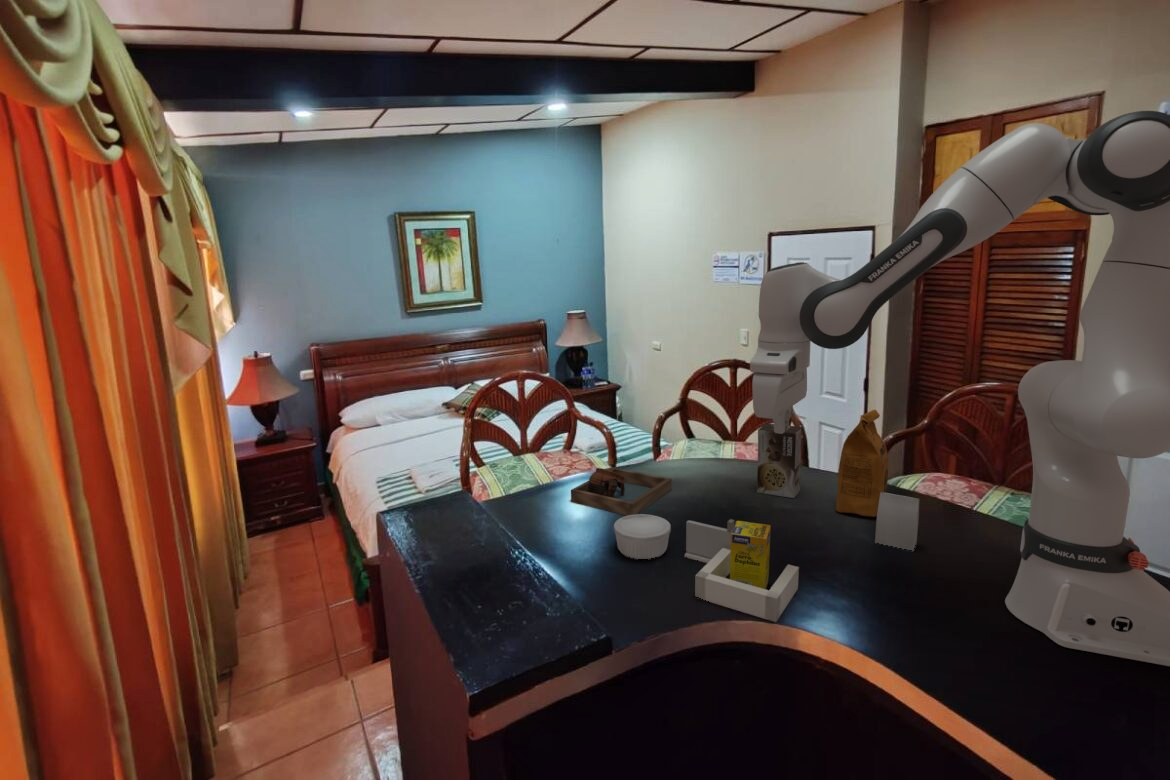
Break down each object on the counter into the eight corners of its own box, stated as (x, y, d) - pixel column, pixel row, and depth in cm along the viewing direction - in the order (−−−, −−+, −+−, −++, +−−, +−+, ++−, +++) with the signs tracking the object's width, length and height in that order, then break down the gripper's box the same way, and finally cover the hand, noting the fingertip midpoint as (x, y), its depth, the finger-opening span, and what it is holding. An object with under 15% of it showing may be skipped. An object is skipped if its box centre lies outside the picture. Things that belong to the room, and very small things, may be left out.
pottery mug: (576, 496, 149) (587, 465, 150) (610, 508, 151) (620, 477, 153) (593, 501, 137) (605, 466, 139) (629, 514, 140) (640, 480, 142)
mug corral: (671, 490, 150) (671, 478, 149) (632, 516, 134) (632, 504, 134) (613, 478, 159) (613, 467, 159) (571, 501, 144) (570, 490, 143)
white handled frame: (802, 581, 105) (803, 560, 104) (776, 622, 94) (777, 598, 93) (690, 552, 117) (690, 532, 116) (654, 584, 106) (654, 563, 105)
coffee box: (800, 490, 147) (803, 426, 144) (794, 499, 142) (797, 433, 139) (763, 484, 152) (765, 422, 149) (755, 492, 147) (757, 428, 143)
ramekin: (656, 533, 126) (656, 510, 125) (680, 557, 115) (681, 531, 114) (606, 542, 123) (605, 518, 122) (626, 567, 112) (626, 541, 111)
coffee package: (893, 505, 137) (900, 411, 132) (876, 523, 128) (884, 422, 123) (847, 495, 143) (853, 405, 139) (829, 512, 134) (834, 416, 130)
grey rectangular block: (913, 551, 115) (917, 502, 113) (874, 543, 119) (878, 495, 117) (916, 544, 118) (920, 496, 116) (878, 536, 122) (882, 489, 120)
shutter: (733, 560, 112) (734, 519, 110) (730, 563, 110) (731, 522, 109) (688, 548, 117) (689, 509, 115) (685, 551, 116) (685, 512, 114)
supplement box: (765, 600, 100) (767, 539, 98) (728, 593, 102) (730, 533, 100) (769, 583, 105) (771, 524, 103) (734, 577, 107) (735, 519, 105)
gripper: (783, 348, 117) (781, 417, 120) (746, 363, 101) (744, 443, 104) (817, 349, 114) (814, 420, 116) (784, 366, 97) (781, 448, 100)
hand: (781, 431), depth 110 cm, fingers closed
